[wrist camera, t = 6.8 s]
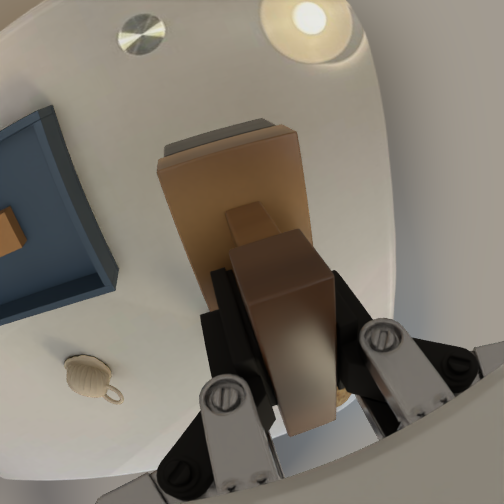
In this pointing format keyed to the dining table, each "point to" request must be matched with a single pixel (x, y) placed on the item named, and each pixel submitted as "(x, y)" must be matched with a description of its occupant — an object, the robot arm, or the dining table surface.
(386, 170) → the dining table surface
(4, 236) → the tan flat square block
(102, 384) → the decorative ornament
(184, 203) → the brush
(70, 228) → the tray
